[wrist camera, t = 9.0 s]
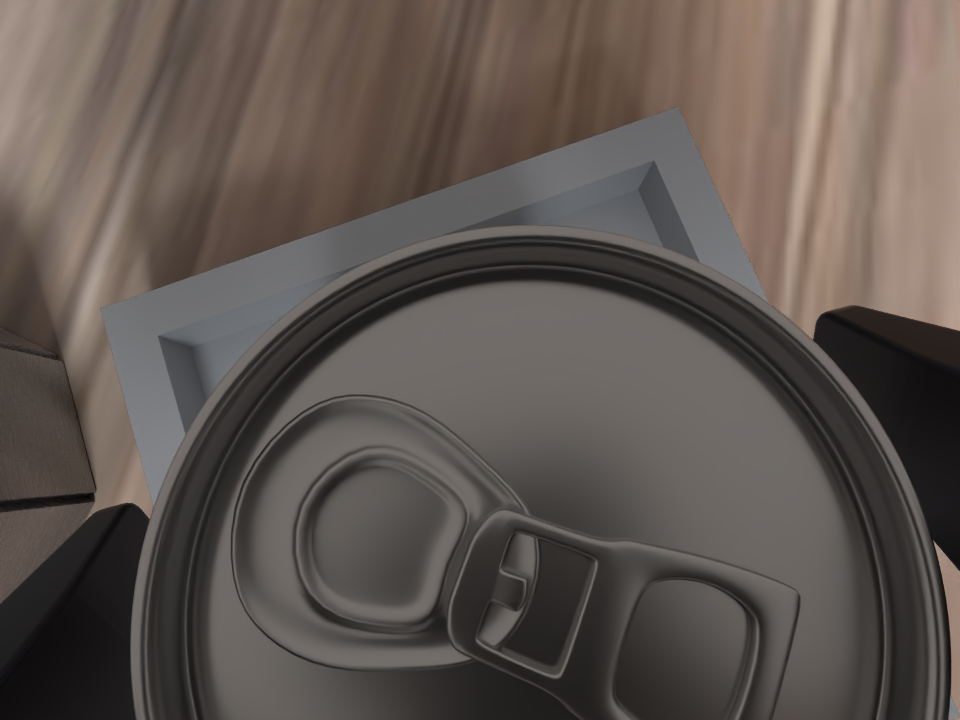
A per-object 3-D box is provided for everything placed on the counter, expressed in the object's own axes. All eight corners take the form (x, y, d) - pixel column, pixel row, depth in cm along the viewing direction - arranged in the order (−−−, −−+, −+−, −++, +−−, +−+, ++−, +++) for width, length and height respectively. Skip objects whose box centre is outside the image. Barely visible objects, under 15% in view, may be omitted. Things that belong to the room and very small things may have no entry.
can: (430, 344, 17) (287, 61, 5) (651, 424, 16) (1108, 335, 4) (343, 569, 16) (-114, 927, 4) (575, 662, 15) (886, 1394, 3)
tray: (886, 675, 16) (960, 716, 13) (316, 905, 15) (283, 993, 13) (652, 154, 18) (678, 106, 16) (154, 329, 18) (100, 308, 15)
